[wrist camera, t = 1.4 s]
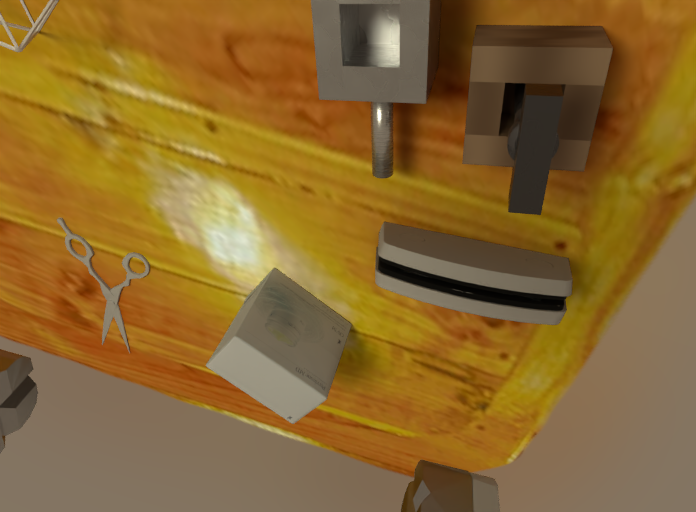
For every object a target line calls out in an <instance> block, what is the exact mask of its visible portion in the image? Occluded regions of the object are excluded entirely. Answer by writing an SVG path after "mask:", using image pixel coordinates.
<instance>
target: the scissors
mask: <svg viewBox="0 0 696 512" xmlns="http://www.w3.org/2000/svg"><path fill="white" fill-rule="evenodd" d="M57 222H58V223H59V224H60V225H61V226H62V227H63V229H64V231H65V232H66V233H67V236H66V238H65V244H66V247H67V249H68V250H69V252H70V253H71V254H72V255H73V256H74V257H76V258H77V259H79V260H80V261H82V262H83V263H84V264H85V265H86V266H87V267H88V269H89V273H90V274H91V275H92V276H94V277H95V278H96V279H97V281H98V282H99V283H100V286H101V289H102V292H103V295H104V296H105V298H106V300H107V304H106V310H105V316H104V325H103V335H102V345H103V342H104V340H105V337H106V334H107V332H108V329H109V326H110V323H111V321H112V319H113V315H114V318H115V320H116V322H117V325H118V327H119V330H120V332H121V334H122V336H123V339H124V341H125V343H126V346H127V348H128V350H129V346H128V341H127V336H126V331H125V327H124V323H123V319H122V315H121V312H120V308H119V305H118V301H119V297H120V293H121V290H122V288H123V287H124V286H129V285H130V279H134V278H142V277H144V276H146V275H147V274H148V273H149V271H150V265H149V262H148V261H147V259H146V258H145V257H144V256H143V255H141V254H139V253H135V252H133V253H128V254H127V255H126V256H125V258H124V259H123V261H122V265H123V267H124V268H125V270H126V271H127V273H128V274H127V275H126V280H125V281H124V282H123V283H121V284H120V285H117V286H115V287H113V288H112V289H111V288H110V287H109V286H108V285H107V284H106V283H105V282H104V281H103V280H102V278H101V277H100V276H99V275H98V274H97V273H96V272H95V270H94V269H93V267H92V264H91V257H92V255H93V254H94V251H93V249H92V247H91V246H90V245H89V243H88V242H87V241H86V240H85V239H84V238H83V237H81V236H79V235H77V234H74V233H72V232H71V230H70V229H69V228H68V227H67V225H66V224H65V221H64V220H63V218H58V219H57ZM73 238H74V239H77V240H79V241H81V242H82V243H83V245H84V246H85V248H86V251H87V255H86V256H82V255H80V254H78V253H77V252H76V251H75V250H74V249H73V248H72V246H71V239H73ZM131 257H136V258H139V259H141V260H142V261H143V262H144V264H145V266H146V270H145V272H143V273H141V274H139V273H135V272H133V271H132V270H131V268H130V266H129V260H130V258H131ZM129 353H130V350H129Z"/></svg>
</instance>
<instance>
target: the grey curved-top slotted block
mask: <svg viewBox="0 0 696 512" xmlns="http://www.w3.org/2000/svg"><path fill="white" fill-rule="evenodd" d="M375 279H376V284H377V285H378V286H380V287H381V288H384V289H387V290H389V291H392V292H395V293H398V294H401V295H404V296H407V297H410V298H413V299H416V300H419V301H423V302H426V303H430V304H434V305H437V306H441V307H444V308H449V309H453V310H457V311H461V312H466V313H471V314H476V315H481V316H486V317H491V318H498V319H504V320H511V321H518V322H526V323H536V324H549V325H556V324H559V323H560V321H561V319H562V317H563V316H564V314H565V312H566V310H567V309H566V301H565V299H566V297H567V296H570V295H571V294H572V274H571V269H570V264H569V259H568V258H565V257H559V256H554V255H549V254H544V253H539V252H534V251H529V250H524V249H519V248H514V247H509V246H504V245H499V244H494V243H489V242H484V241H479V240H474V239H469V238H464V237H459V236H454V235H449V234H444V233H438V232H433V231H428V230H423V229H418V228H413V227H408V226H403V225H398V224H393V223H388V222H384V223H383V225H382V227H381V230H380V232H379V245H378V247H377V251H376V268H375Z"/></svg>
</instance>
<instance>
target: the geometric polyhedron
mask: <svg viewBox="0 0 696 512" xmlns="http://www.w3.org/2000/svg"><path fill="white" fill-rule="evenodd" d="M58 1H59V0H50V1H49V2H48V4H47V5H46V7H45V8H44V10H43V11H42V13H41V14H40V16H39V17H38V19H37V20H36V22H35V23H34V21H33V20H32V18H31V16H30V14H29V12H28V10H27V8H26V6H25V4H24V2H23V0H20V2H21V4H22V5H23V7H24V9H25V11H26V13H27V15H28V17H29V19H30V21H31V23H32V25H33V26H32V28H28V27H24V26H20V25H16V24H12V23H8V22H5V20H4V18H3V16H2V14H1V13H0V20H1V21H0V24H2V25H3V26H4V28H5V29H6V31H7V33H8V35H9V37H10V39H11V41H12V42H13V44H14V46H15V47H13V46H11V45H8V44H6V43H3V42H1V41H0V45H1V46H4V47H6V48H8V49H11V50H13V51H16V52H21V51H22V50H23V49H24V48H25V47H26V46H27V45H28V44H29V43H30V42H31V41H32V39H33V38H34V37H35V36H36V35H37V34H38V33H39V31H40V30H41V28H42V27H43V25H44V23H45V22H46V20H47V18H48V17H49V15H50V14H51V12H52V10H53V9H54V7H55V5H56V4H57V2H58ZM8 26H10V27H14V28H18V29H22V30H26V31H29V32H28V34H27V35H26V37H25V38H24V40H23V41H22V43H21V44H20V46H19V47H18V44H17V43H16V41H15V39H14V37H13V35H12V33H11V31H10V29H9V28H8Z"/></svg>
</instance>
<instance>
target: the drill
mask: <svg viewBox="0 0 696 512" xmlns="http://www.w3.org/2000/svg"><path fill="white" fill-rule="evenodd" d="M311 6H312V18H313V29H314V41H315V53H316V65H317V77H318V89H319V99H322V100H347V101H371V134H372V174H373V176H375V177H377V178H388V177H390V176H392V175H393V102H397V103H422V104H426V102H427V99H428V96H429V93H430V90H431V87H432V84H433V81H434V79H435V76H436V73H437V70H438V57H439V37H440V17H441V0H311Z"/></svg>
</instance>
